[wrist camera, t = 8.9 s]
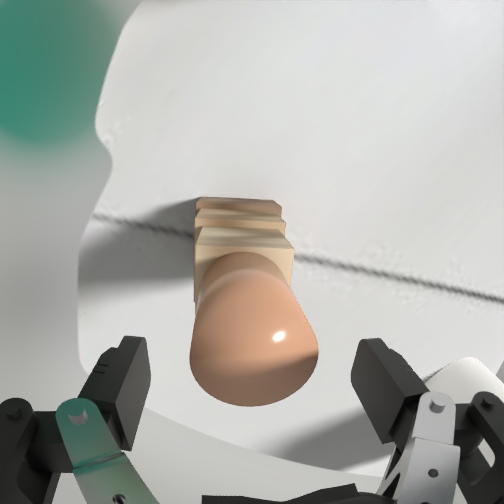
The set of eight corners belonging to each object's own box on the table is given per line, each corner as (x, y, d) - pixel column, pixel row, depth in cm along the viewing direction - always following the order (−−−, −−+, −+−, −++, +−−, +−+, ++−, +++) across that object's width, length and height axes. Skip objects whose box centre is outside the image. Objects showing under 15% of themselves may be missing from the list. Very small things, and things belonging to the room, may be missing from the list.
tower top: (278, 229, 20) (294, 249, 16) (272, 298, 22) (284, 334, 17) (203, 225, 20) (195, 244, 15) (201, 295, 21) (195, 332, 16)
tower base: (273, 200, 30) (281, 206, 25) (267, 267, 32) (274, 286, 27) (201, 196, 29) (196, 202, 24) (199, 265, 31) (194, 283, 26)
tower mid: (274, 211, 25) (285, 222, 20) (268, 280, 27) (277, 304, 22) (201, 207, 25) (194, 218, 20) (199, 277, 26) (193, 301, 21)
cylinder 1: (290, 252, 16) (326, 302, 10) (283, 330, 17) (308, 402, 11) (199, 250, 15) (185, 303, 9) (201, 331, 16) (193, 406, 11)
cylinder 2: (381, 434, 42) (437, 544, 18) (447, 348, 38) (545, 451, 14) (440, 435, 45) (493, 515, 21) (495, 364, 41) (569, 437, 17)
